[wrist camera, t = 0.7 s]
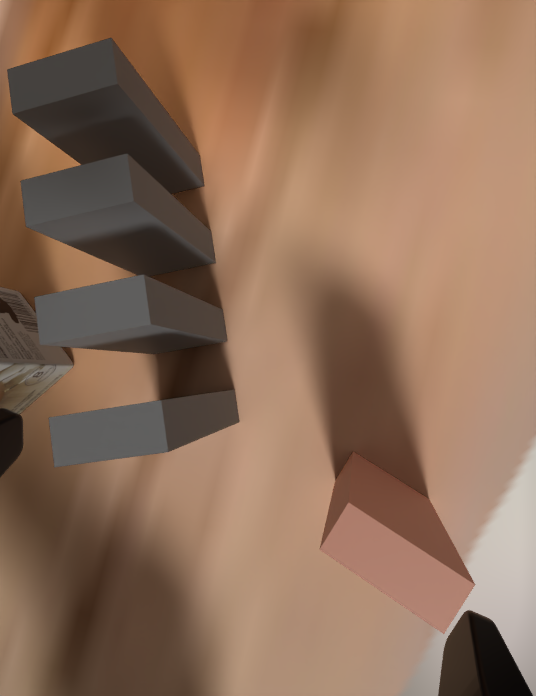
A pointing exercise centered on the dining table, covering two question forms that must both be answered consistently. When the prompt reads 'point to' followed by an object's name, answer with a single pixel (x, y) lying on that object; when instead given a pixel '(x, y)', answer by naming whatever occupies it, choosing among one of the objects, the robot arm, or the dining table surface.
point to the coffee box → (25, 355)
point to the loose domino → (395, 542)
